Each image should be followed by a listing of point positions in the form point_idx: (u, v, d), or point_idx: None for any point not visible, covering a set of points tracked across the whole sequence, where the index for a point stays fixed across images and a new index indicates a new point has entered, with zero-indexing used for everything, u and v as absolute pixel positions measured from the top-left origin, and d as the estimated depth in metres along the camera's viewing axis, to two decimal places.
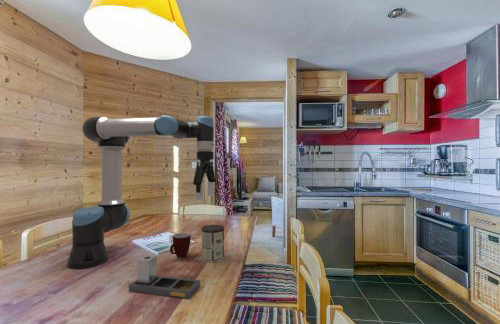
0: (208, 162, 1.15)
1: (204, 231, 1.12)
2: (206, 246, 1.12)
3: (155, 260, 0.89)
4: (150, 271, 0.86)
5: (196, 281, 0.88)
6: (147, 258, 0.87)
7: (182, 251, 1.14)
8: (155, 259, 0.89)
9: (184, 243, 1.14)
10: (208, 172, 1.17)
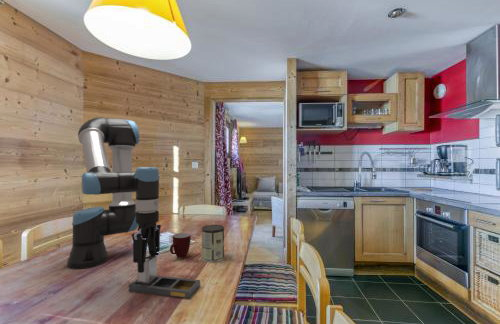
0: (152, 222, 0.90)
1: (204, 231, 1.12)
2: (206, 246, 1.12)
3: (155, 260, 0.89)
4: (150, 271, 0.86)
5: (196, 281, 0.88)
6: (147, 258, 0.87)
7: (182, 251, 1.14)
8: (155, 259, 0.89)
9: (184, 243, 1.14)
10: (150, 239, 0.90)
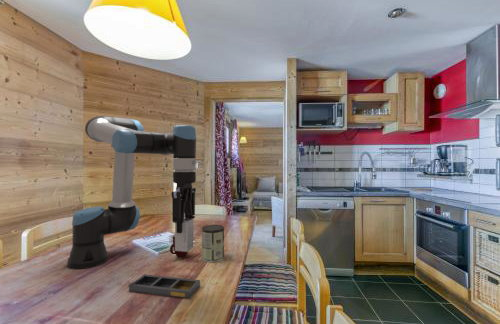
0: (189, 183, 0.87)
1: (204, 231, 1.12)
2: (206, 246, 1.12)
3: (192, 222, 0.87)
4: (188, 232, 0.83)
5: (196, 281, 0.88)
6: (185, 220, 0.85)
7: (182, 251, 1.14)
8: (192, 221, 0.86)
9: None
10: (187, 201, 0.87)
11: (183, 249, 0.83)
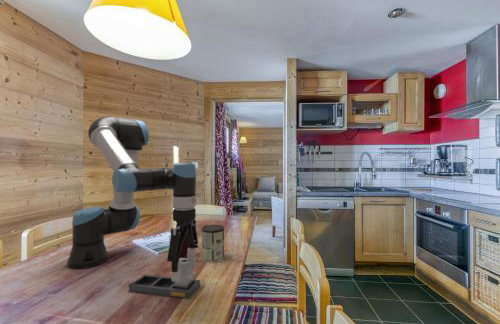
0: (189, 222, 0.86)
1: (204, 231, 1.12)
2: (206, 246, 1.12)
3: (192, 263, 0.87)
4: (188, 275, 0.84)
5: (196, 281, 0.88)
6: (185, 261, 0.85)
7: (182, 251, 1.14)
8: (191, 262, 0.86)
9: (184, 243, 1.14)
10: (188, 235, 0.88)
11: None
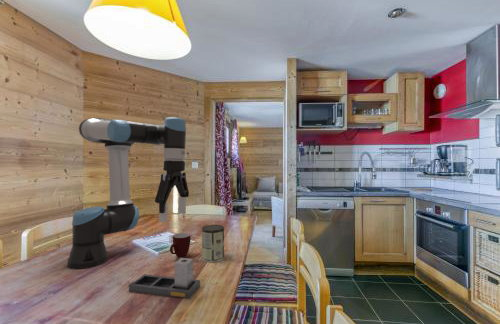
0: (178, 174, 0.94)
1: (204, 231, 1.12)
2: (206, 246, 1.12)
3: (192, 263, 0.87)
4: (188, 275, 0.84)
5: (196, 281, 0.88)
6: (185, 261, 0.85)
7: (182, 251, 1.14)
8: (191, 262, 0.86)
9: (184, 243, 1.14)
10: (179, 185, 0.96)
11: None
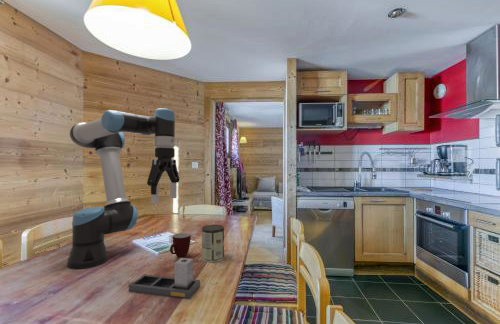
0: (168, 160, 1.02)
1: (204, 231, 1.12)
2: (206, 246, 1.12)
3: (192, 263, 0.87)
4: (188, 275, 0.84)
5: (196, 281, 0.88)
6: (185, 261, 0.85)
7: (182, 251, 1.14)
8: (191, 262, 0.86)
9: (184, 243, 1.14)
10: (169, 171, 1.04)
11: None
